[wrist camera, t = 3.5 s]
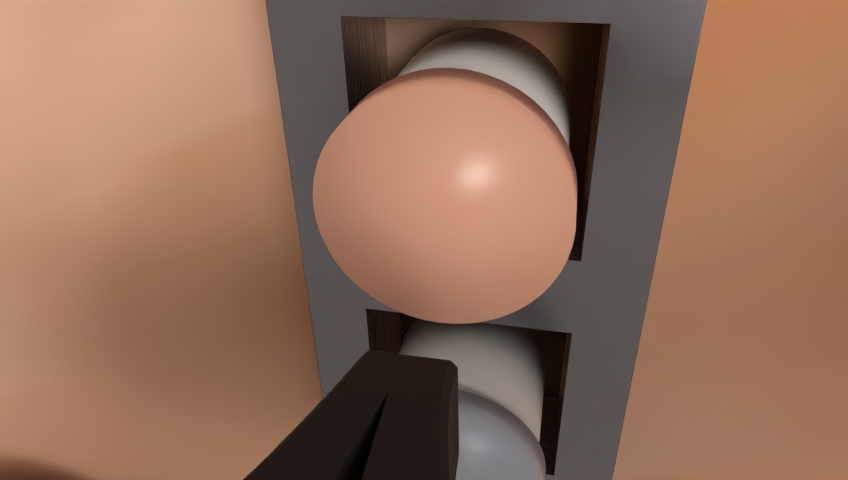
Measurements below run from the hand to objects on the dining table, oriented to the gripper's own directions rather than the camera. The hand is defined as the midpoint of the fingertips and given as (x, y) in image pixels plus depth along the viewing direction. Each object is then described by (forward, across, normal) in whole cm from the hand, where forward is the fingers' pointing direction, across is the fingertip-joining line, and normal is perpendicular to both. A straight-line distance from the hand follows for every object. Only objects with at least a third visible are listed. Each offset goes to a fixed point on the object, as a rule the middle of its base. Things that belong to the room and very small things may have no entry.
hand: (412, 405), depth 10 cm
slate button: (+7, 0, +5) cm, 9 cm away
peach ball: (+7, 0, -2) cm, 7 cm away
